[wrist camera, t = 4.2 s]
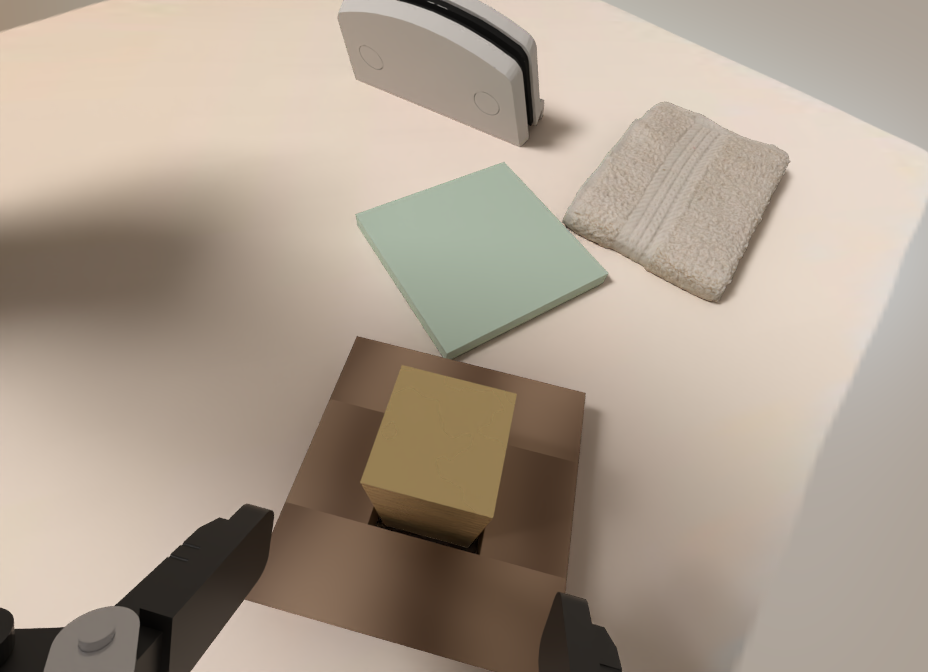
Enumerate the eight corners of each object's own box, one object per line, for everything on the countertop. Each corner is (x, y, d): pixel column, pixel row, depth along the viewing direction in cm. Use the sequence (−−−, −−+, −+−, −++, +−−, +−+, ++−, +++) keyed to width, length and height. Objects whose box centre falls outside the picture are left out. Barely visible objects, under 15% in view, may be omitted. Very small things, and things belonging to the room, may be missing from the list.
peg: (384, 525, 21) (360, 482, 13) (410, 444, 23) (401, 364, 15) (467, 547, 20) (493, 518, 13) (485, 463, 22) (516, 393, 15)
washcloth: (775, 174, 37) (802, 142, 35) (712, 316, 29) (741, 288, 26) (646, 118, 40) (661, 84, 37) (554, 233, 32) (566, 200, 29)
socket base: (264, 598, 19) (243, 599, 17) (362, 358, 25) (357, 336, 23) (539, 678, 18) (555, 689, 16) (571, 411, 24) (585, 393, 22)
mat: (357, 225, 30) (355, 214, 29) (502, 172, 34) (504, 161, 33) (446, 362, 25) (447, 353, 24) (603, 282, 29) (608, 273, 28)
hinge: (547, 117, 38) (560, 6, 28) (521, 161, 37) (527, 62, 28) (385, 53, 41) (348, -66, 32) (359, 92, 40) (313, -17, 31)
